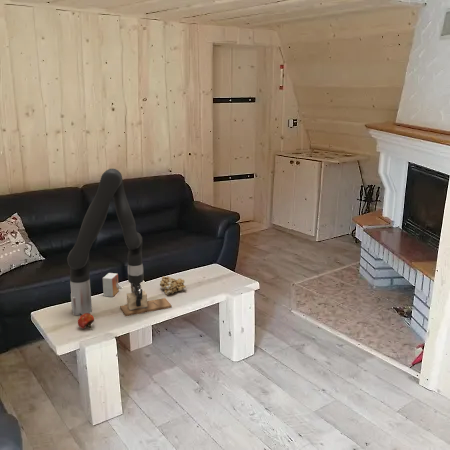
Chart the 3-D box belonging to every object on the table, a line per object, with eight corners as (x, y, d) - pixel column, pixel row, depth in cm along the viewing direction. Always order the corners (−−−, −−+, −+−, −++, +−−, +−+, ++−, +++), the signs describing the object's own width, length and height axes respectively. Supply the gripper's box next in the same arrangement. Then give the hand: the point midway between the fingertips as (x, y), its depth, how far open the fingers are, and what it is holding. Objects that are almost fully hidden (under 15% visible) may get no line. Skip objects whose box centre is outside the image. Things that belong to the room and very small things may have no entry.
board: (125, 316, 237) (124, 314, 237) (120, 308, 246) (120, 306, 246) (171, 307, 247) (171, 305, 247) (165, 300, 256) (165, 297, 256)
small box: (113, 297, 259) (112, 278, 256) (103, 296, 260) (102, 277, 257) (119, 291, 267) (118, 273, 264) (109, 290, 268) (108, 272, 265)
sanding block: (129, 310, 240) (129, 297, 238) (127, 306, 245) (126, 293, 243) (147, 307, 244) (146, 294, 242) (144, 303, 248) (144, 290, 246)
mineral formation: (167, 297, 259) (153, 287, 270) (187, 295, 268) (172, 285, 278) (169, 283, 257) (155, 273, 268) (190, 281, 266) (175, 271, 277)
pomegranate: (97, 330, 228) (86, 313, 232) (100, 322, 223) (89, 305, 227) (83, 337, 224) (72, 320, 227) (86, 329, 218) (75, 312, 222)
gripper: (124, 268, 244) (126, 299, 248) (131, 278, 231) (133, 311, 236) (139, 266, 247) (140, 297, 252) (147, 276, 234) (148, 308, 239)
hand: (137, 303), depth 244 cm, fingers closed on sanding block, 5 cm apart
